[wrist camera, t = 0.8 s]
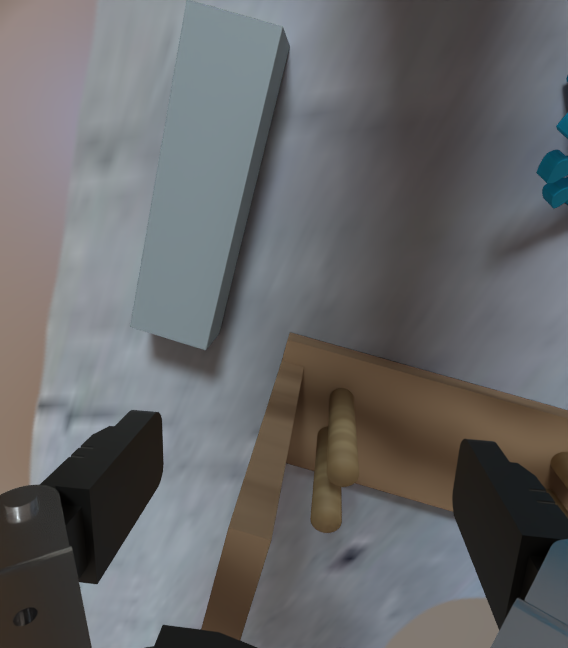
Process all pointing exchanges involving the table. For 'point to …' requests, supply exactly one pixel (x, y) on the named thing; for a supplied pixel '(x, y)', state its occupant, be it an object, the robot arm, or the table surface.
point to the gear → (555, 171)
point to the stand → (369, 449)
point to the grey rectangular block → (207, 170)
